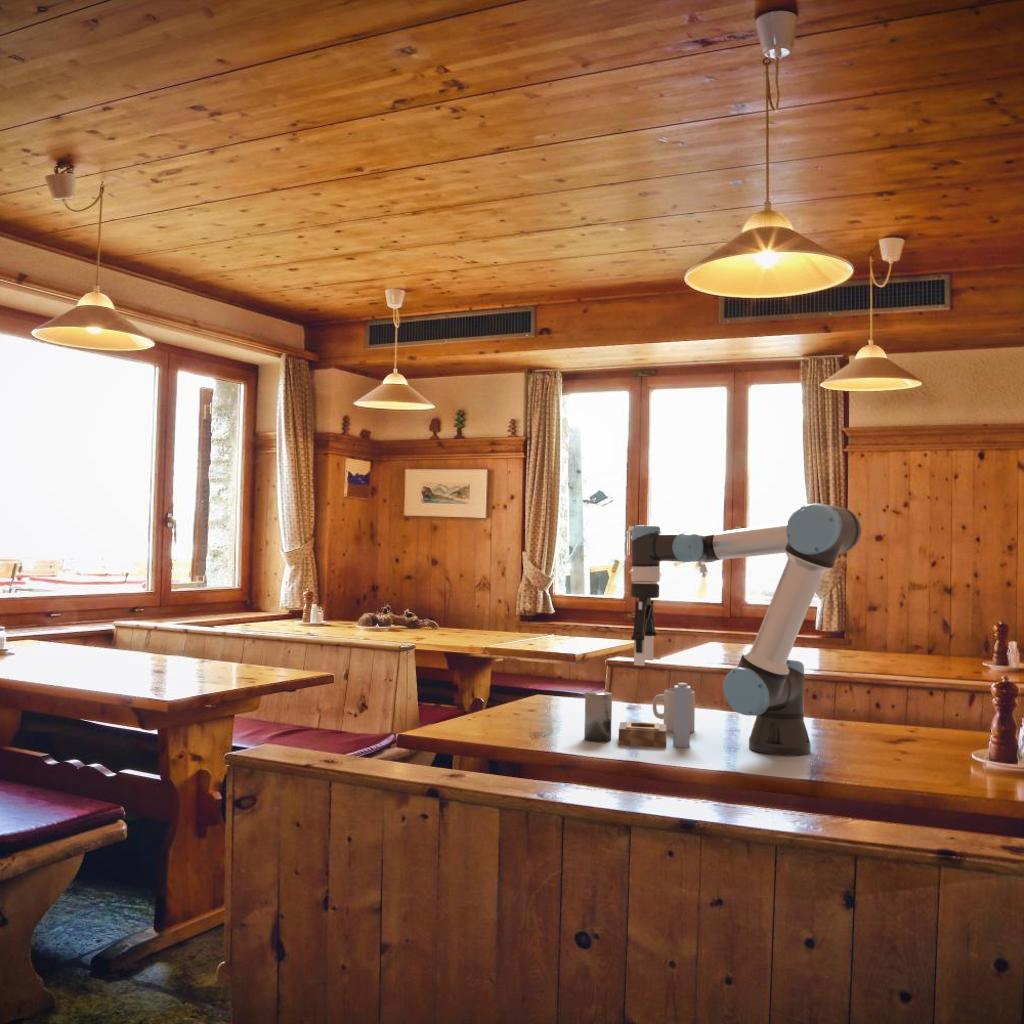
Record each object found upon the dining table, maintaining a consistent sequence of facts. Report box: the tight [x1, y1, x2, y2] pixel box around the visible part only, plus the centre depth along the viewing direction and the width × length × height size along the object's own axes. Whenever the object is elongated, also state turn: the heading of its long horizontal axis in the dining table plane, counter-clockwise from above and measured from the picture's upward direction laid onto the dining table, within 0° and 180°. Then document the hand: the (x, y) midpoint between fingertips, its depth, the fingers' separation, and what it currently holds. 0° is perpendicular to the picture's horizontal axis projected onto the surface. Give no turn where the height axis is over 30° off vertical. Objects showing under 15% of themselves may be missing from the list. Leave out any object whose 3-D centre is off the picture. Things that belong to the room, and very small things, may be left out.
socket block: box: [618, 720, 667, 748], centre depth 248 cm, size 12×10×4 cm
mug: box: [652, 688, 696, 734], centre depth 267 cm, size 12×8×11 cm
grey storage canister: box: [583, 690, 613, 743], centre depth 250 cm, size 7×7×12 cm
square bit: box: [672, 682, 691, 748], centre depth 245 cm, size 4×4×16 cm
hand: (643, 662), depth 255 cm, fingers open, 13 cm apart
